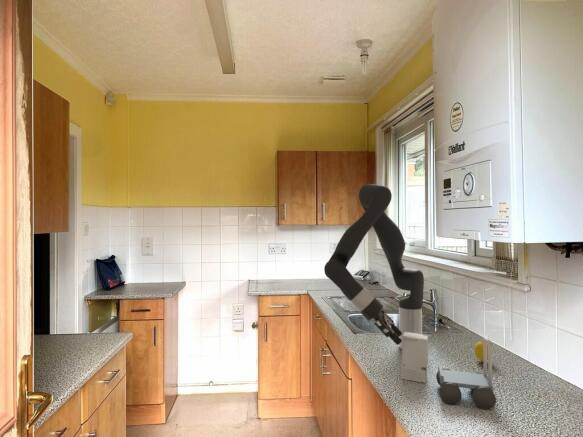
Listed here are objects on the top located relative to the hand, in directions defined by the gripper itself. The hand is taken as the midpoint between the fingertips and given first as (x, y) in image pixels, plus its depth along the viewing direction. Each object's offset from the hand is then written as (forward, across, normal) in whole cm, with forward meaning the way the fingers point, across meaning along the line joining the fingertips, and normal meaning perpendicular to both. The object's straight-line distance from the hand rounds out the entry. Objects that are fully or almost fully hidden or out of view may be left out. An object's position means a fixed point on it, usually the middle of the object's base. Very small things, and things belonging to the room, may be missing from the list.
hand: (400, 339), depth 129 cm
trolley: (+22, -10, -4) cm, 25 cm away
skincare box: (+13, 0, +6) cm, 14 cm away
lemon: (+30, +22, -12) cm, 39 cm away
